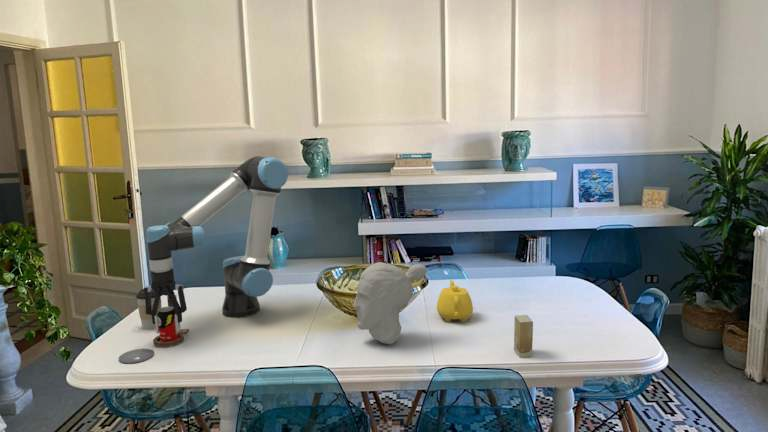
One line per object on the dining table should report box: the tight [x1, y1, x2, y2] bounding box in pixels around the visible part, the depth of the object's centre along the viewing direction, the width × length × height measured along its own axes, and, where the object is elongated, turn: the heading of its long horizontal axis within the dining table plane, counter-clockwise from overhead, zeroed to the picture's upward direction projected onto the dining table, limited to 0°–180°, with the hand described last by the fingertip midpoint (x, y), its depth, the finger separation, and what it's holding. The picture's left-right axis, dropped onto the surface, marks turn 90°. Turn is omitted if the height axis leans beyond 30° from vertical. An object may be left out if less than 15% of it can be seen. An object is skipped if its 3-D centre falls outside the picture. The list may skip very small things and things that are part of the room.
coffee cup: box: [135, 288, 162, 331], centre depth 217 cm, size 9×9×15 cm
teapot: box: [436, 279, 474, 323], centre depth 218 cm, size 14×20×13 cm
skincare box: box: [513, 314, 534, 358], centre depth 182 cm, size 6×4×12 cm
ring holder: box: [152, 294, 190, 349], centre depth 204 cm, size 10×16×15 cm, turn 3°
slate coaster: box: [118, 348, 155, 365], centre depth 190 cm, size 11×11×1 cm
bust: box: [352, 261, 427, 345], centre depth 196 cm, size 15×26×28 cm, turn 99°
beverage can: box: [157, 305, 179, 342], centre depth 201 cm, size 6×6×12 cm
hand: (168, 331), depth 202 cm, fingers closed on beverage can, 6 cm apart
